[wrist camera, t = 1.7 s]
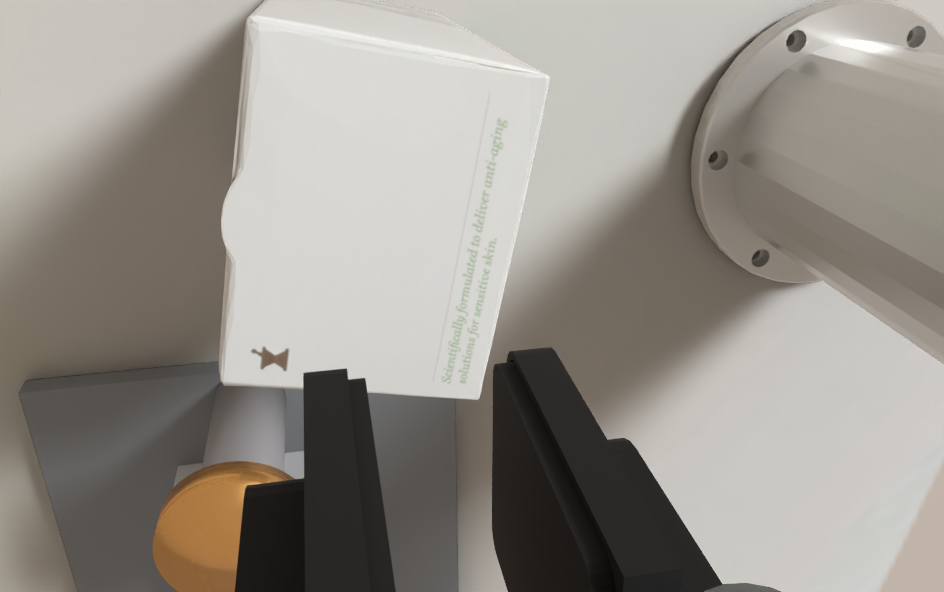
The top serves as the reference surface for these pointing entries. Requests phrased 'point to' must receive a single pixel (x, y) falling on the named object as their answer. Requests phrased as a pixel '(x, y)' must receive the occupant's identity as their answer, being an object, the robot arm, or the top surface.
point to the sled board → (173, 427)
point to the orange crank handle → (206, 525)
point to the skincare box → (372, 197)
